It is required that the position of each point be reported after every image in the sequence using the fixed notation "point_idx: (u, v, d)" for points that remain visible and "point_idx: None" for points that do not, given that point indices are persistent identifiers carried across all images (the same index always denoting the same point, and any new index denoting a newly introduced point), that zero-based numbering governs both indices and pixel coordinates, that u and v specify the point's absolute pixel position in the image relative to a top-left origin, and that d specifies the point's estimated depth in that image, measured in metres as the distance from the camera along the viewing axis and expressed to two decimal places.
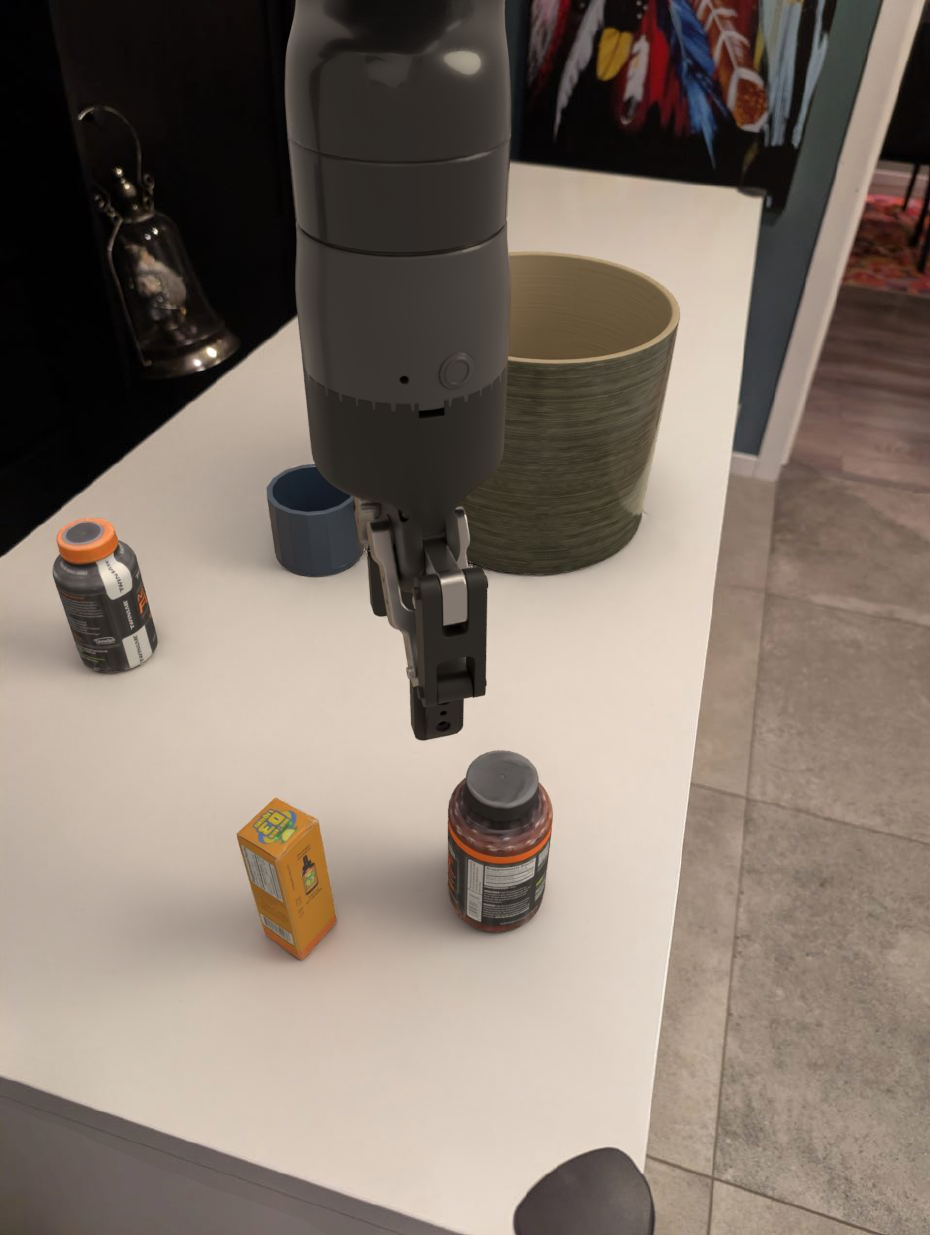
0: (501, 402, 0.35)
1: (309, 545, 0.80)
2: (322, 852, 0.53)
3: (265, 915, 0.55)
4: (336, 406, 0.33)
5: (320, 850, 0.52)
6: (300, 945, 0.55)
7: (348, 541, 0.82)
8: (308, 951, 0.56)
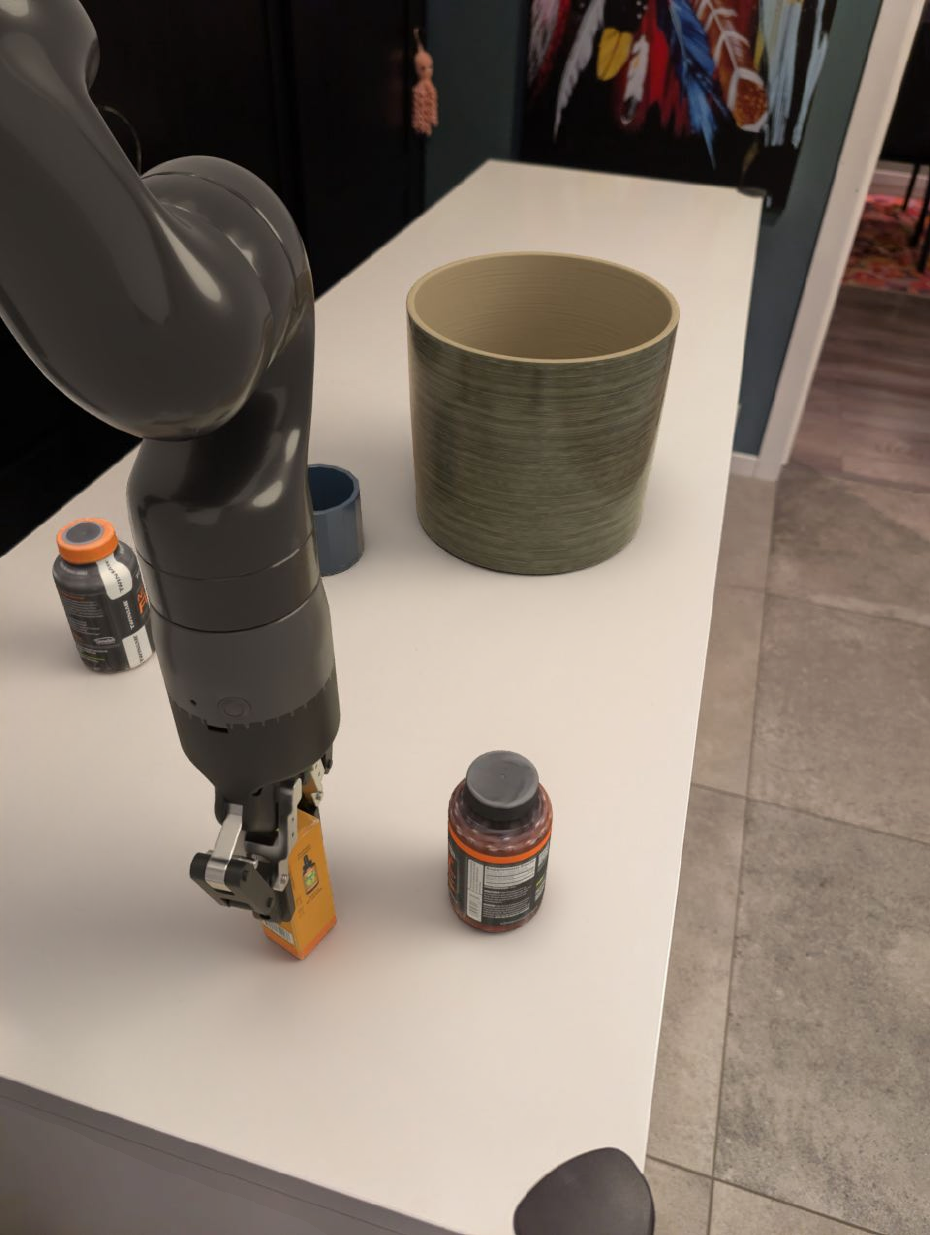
0: (299, 728, 0.41)
1: None
2: (323, 852, 0.53)
3: None
4: (167, 694, 0.42)
5: (321, 850, 0.52)
6: (300, 945, 0.55)
7: (348, 541, 0.82)
8: (308, 951, 0.56)
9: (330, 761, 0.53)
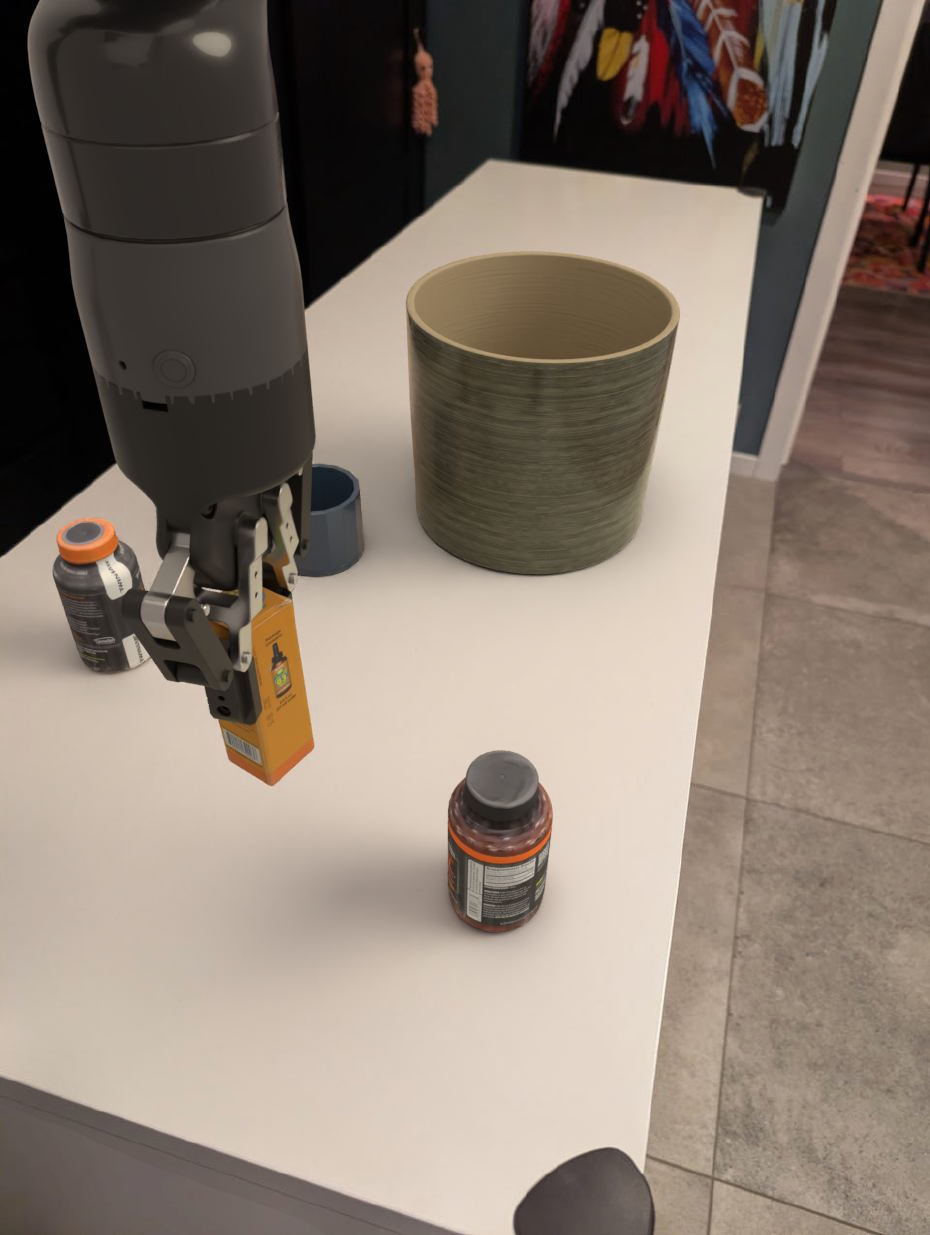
0: (260, 417, 0.33)
1: None
2: (296, 646, 0.44)
3: (228, 729, 0.46)
4: (95, 377, 0.33)
5: (294, 642, 0.44)
6: (269, 766, 0.46)
7: (348, 541, 0.82)
8: (279, 776, 0.47)
9: (307, 541, 0.45)
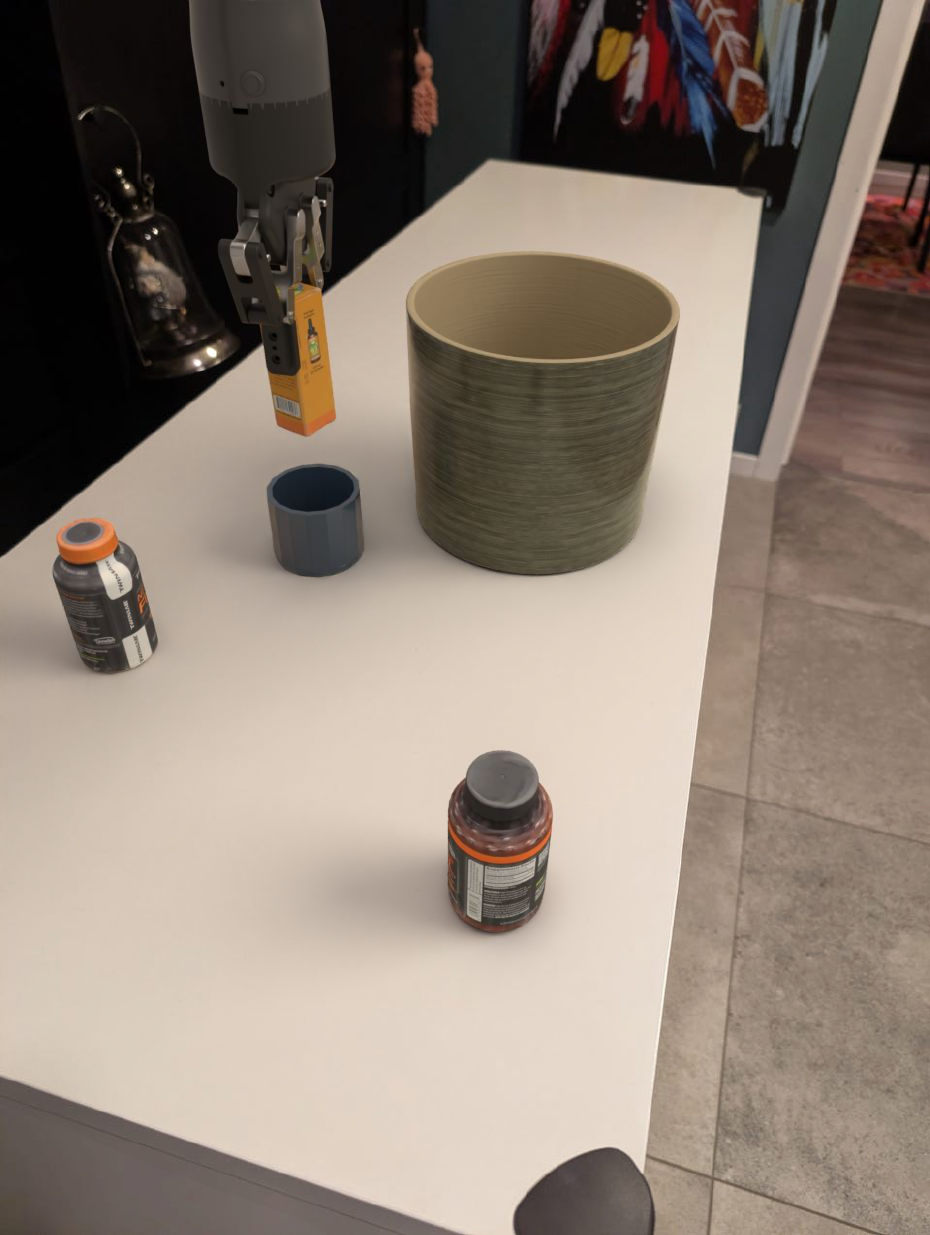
0: (302, 123, 0.54)
1: (309, 545, 0.80)
2: (324, 326, 0.65)
3: (277, 394, 0.67)
4: (202, 103, 0.55)
5: (322, 323, 0.65)
6: (305, 418, 0.67)
7: (348, 541, 0.82)
8: (312, 430, 0.68)
9: (329, 259, 0.66)
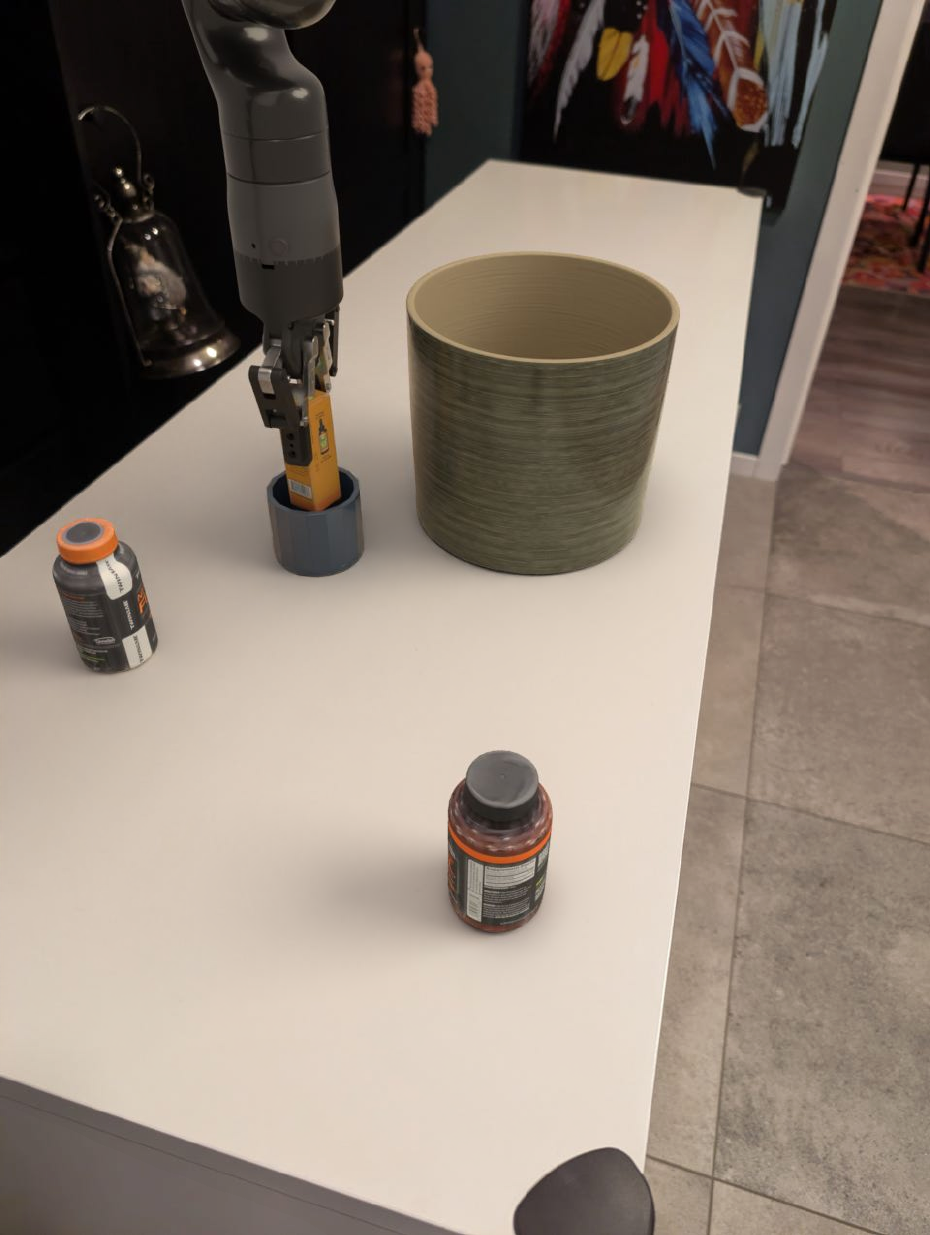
0: (318, 274, 0.66)
1: (309, 545, 0.80)
2: (332, 424, 0.78)
3: (292, 478, 0.80)
4: (235, 256, 0.67)
5: (330, 421, 0.77)
6: (316, 499, 0.79)
7: (348, 541, 0.82)
8: (321, 508, 0.80)
9: (336, 366, 0.78)
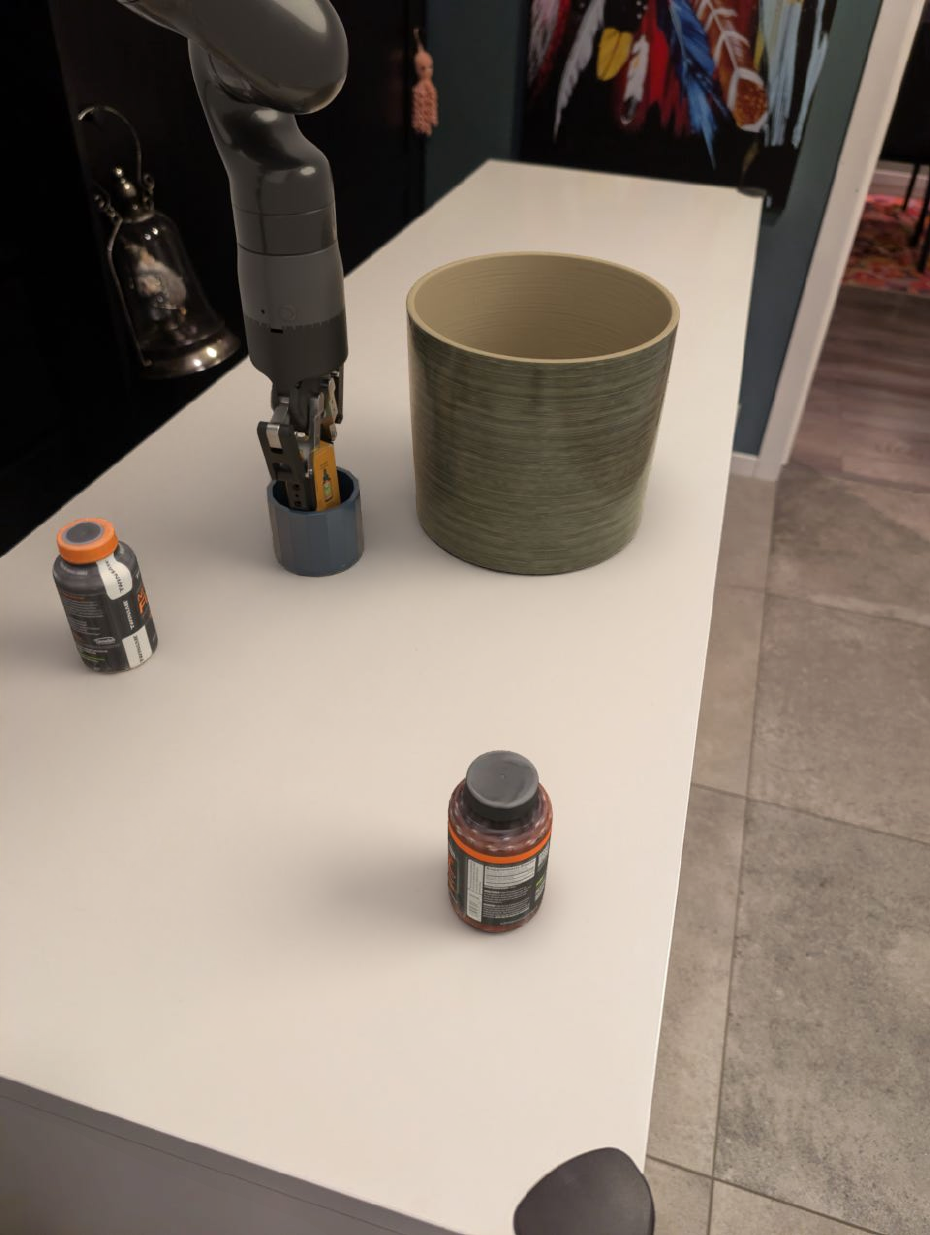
0: (324, 337, 0.69)
1: (309, 545, 0.80)
2: (335, 472, 0.80)
3: None
4: (245, 319, 0.70)
5: (334, 470, 0.80)
6: None
7: (348, 541, 0.82)
8: None
9: (341, 414, 0.82)
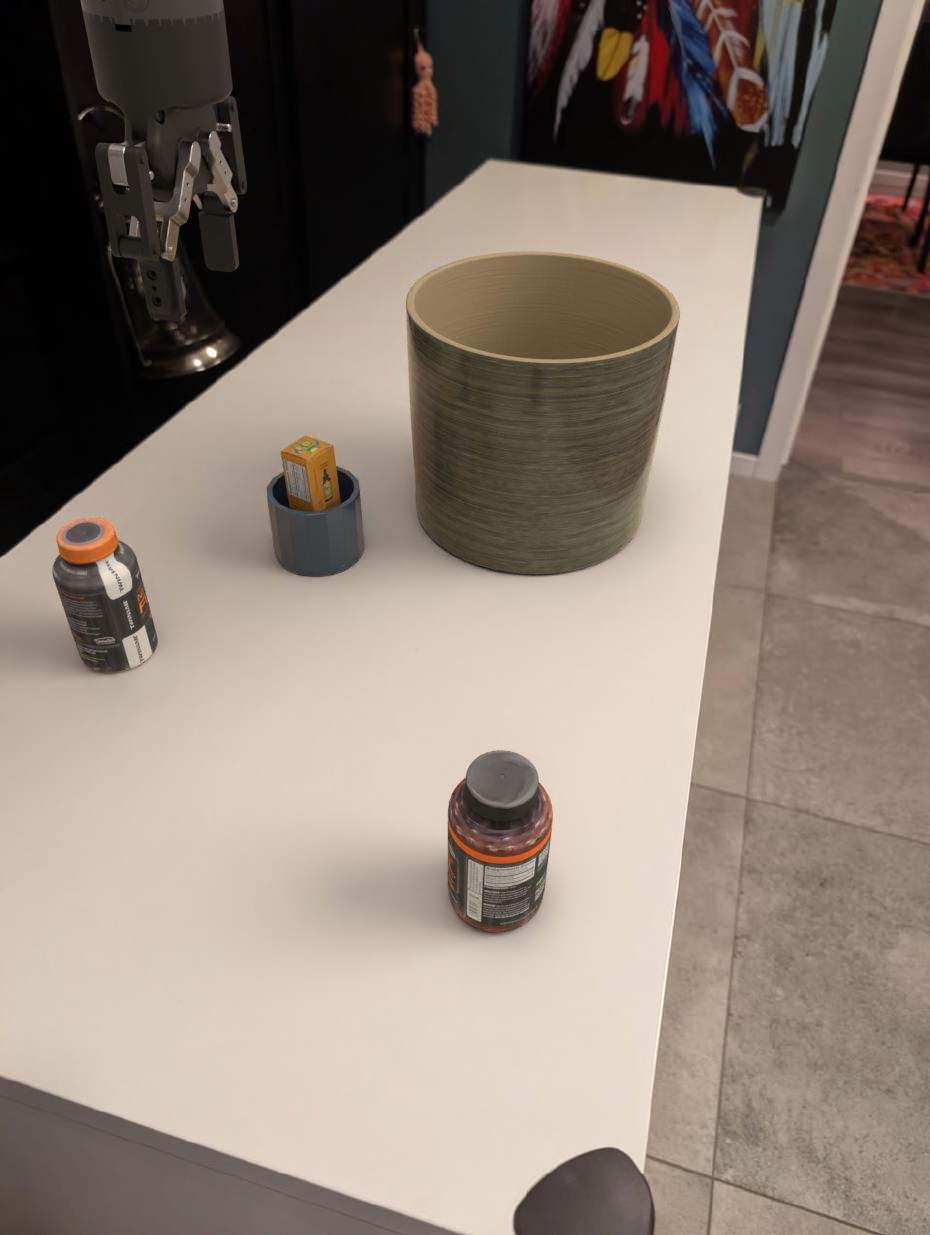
0: (191, 44, 0.51)
1: (309, 545, 0.80)
2: (335, 472, 0.80)
3: None
4: (85, 22, 0.52)
5: (334, 470, 0.80)
6: None
7: (348, 541, 0.82)
8: None
9: (243, 181, 0.64)
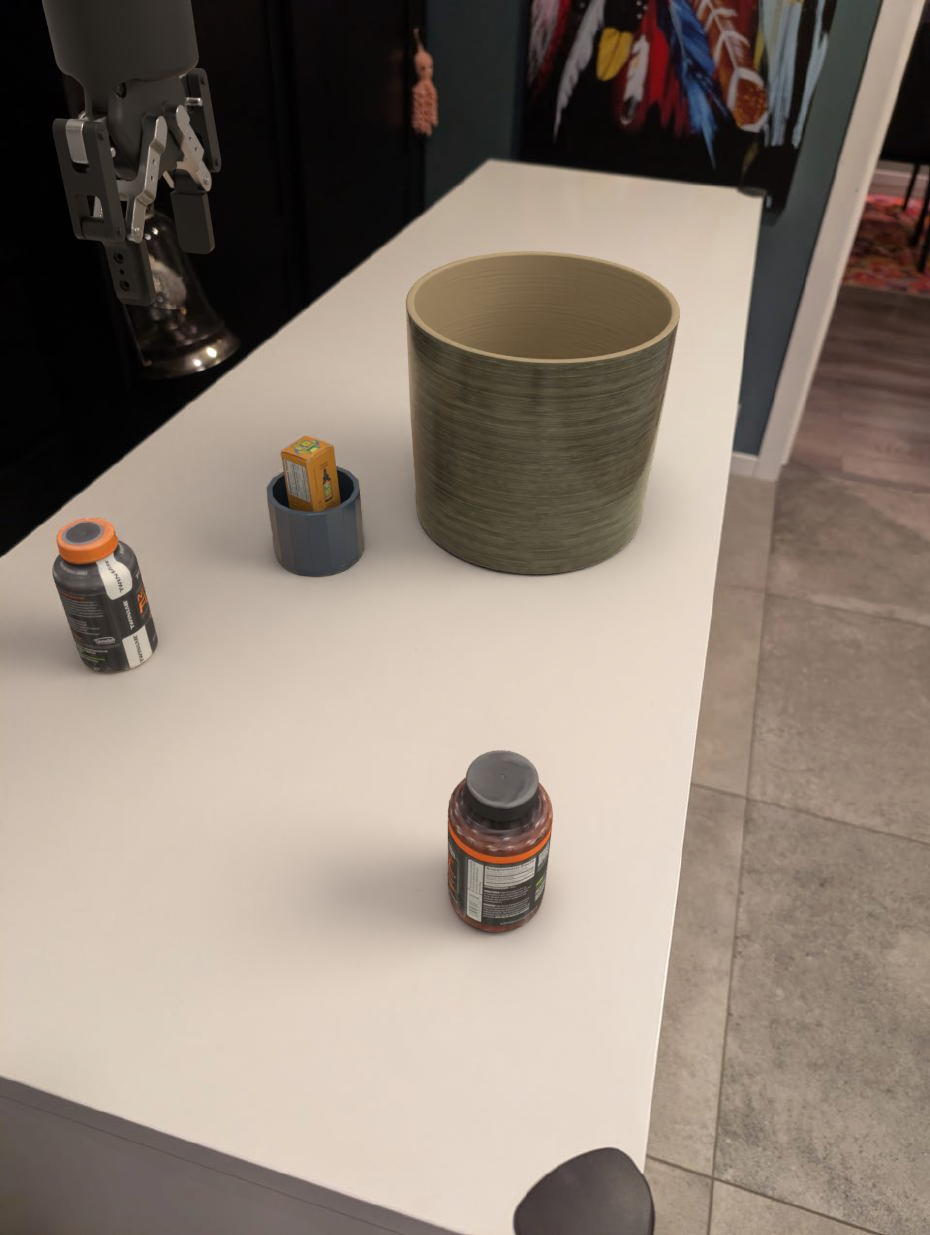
0: (151, 12, 0.49)
1: (309, 545, 0.80)
2: (335, 472, 0.80)
3: None
4: None
5: (334, 470, 0.80)
6: None
7: (348, 541, 0.82)
8: None
9: (217, 158, 0.61)
